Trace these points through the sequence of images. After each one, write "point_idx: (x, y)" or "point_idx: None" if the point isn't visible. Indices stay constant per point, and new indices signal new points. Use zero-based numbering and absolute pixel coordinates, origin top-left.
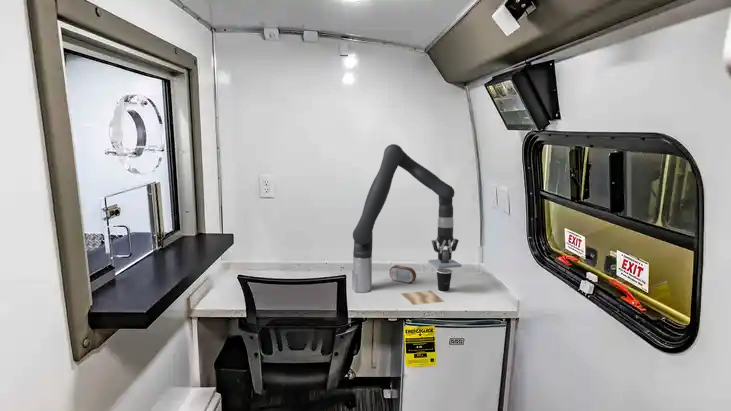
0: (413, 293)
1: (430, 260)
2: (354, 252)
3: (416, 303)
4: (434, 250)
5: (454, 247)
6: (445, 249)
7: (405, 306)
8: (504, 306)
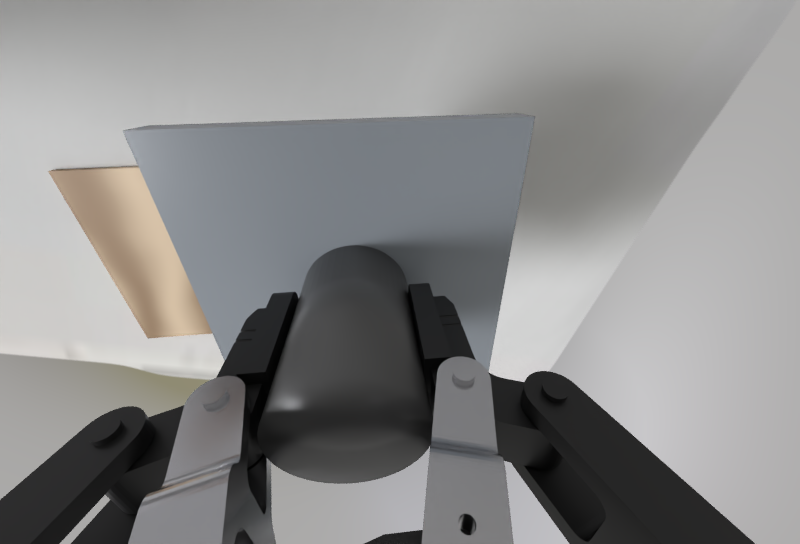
0: (147, 189)
1: (162, 164)
2: None
3: (166, 328)
4: (87, 440)
5: (558, 510)
6: (393, 386)
7: (112, 335)
8: (519, 379)
